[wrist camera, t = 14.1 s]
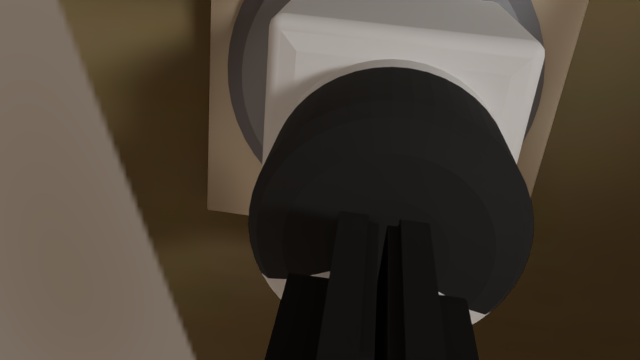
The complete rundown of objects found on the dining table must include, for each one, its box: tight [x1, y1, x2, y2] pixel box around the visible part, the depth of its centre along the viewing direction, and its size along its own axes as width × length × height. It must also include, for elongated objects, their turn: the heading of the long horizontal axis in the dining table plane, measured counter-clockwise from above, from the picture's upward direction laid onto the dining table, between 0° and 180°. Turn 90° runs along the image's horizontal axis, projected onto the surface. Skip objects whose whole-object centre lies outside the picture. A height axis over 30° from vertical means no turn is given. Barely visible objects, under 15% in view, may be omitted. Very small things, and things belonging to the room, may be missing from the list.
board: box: [207, 0, 589, 215], centre depth 23 cm, size 14×14×2 cm
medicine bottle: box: [248, 0, 545, 325], centre depth 17 cm, size 7×7×12 cm
